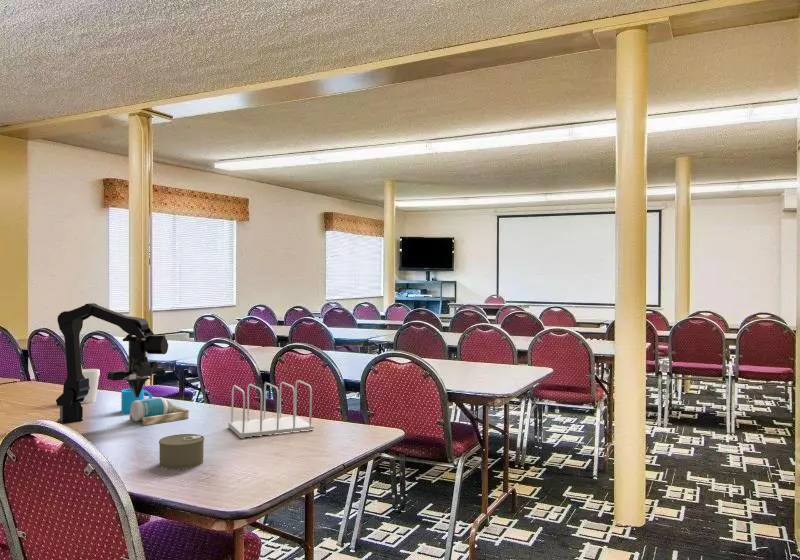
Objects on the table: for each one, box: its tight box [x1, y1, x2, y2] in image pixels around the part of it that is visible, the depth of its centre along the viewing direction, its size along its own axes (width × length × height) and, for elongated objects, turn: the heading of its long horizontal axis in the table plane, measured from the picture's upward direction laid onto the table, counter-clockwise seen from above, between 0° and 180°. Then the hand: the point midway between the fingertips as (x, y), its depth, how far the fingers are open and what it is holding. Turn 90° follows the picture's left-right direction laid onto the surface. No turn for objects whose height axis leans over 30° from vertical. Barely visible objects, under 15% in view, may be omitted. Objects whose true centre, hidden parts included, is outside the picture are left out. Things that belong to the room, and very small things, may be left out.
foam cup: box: [80, 368, 101, 404], centre depth 262 cm, size 10×9×13 cm
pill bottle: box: [130, 396, 173, 422], centre depth 230 cm, size 8×7×14 cm
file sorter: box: [227, 379, 315, 439], centre depth 217 cm, size 25×17×16 cm
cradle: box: [129, 405, 190, 426], centre depth 231 cm, size 16×12×3 cm
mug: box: [120, 388, 153, 414], centre depth 246 cm, size 12×8×8 cm
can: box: [158, 433, 205, 470], centre depth 176 cm, size 12×12×7 cm
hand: (136, 397), depth 225 cm, fingers closed
